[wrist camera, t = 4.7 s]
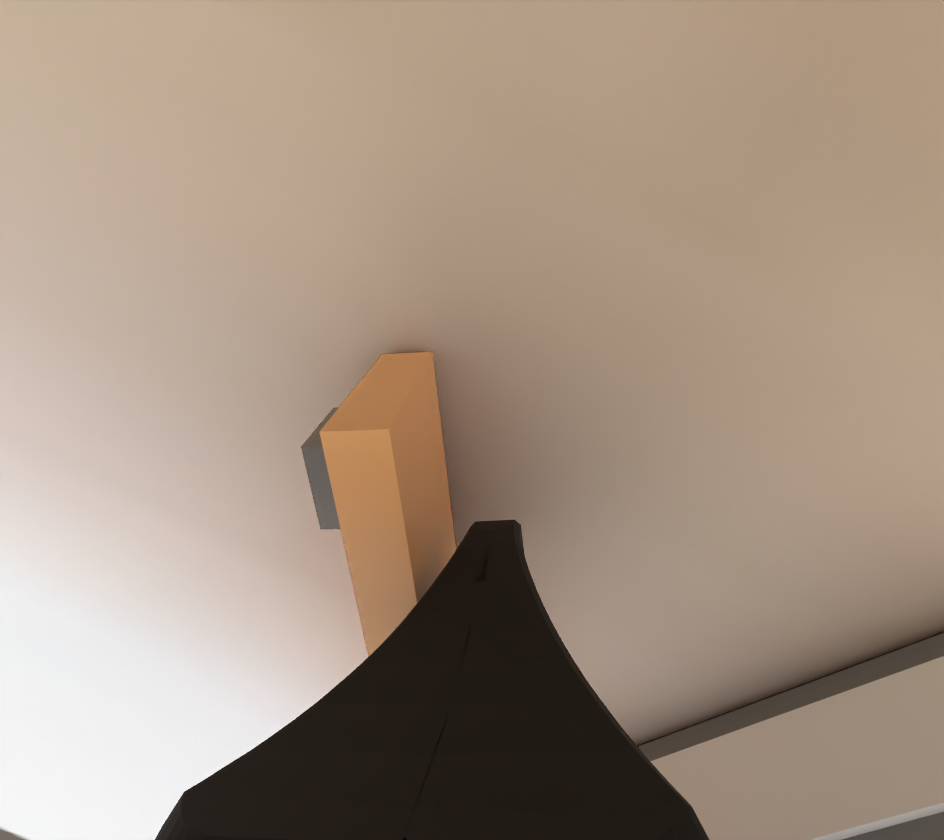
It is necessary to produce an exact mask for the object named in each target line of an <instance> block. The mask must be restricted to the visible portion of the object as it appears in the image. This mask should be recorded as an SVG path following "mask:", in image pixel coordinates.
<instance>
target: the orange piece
mask: <svg viewBox="0 0 944 840" xmlns="http://www.w3.org/2000/svg"><path fill="white" fill-rule="evenodd" d="M301 448H302V452H303V456H304V461H305V465H306V469H307V473H308V478H309V482H310V486H311V490H312V495H313V499H314V503H315V507H316V512H317V516H318V520H319V524H320V529H341V533H342V538H343V542H344V547H345V551H346V556H347V561H348V565H349V570H350V574H351V579H352V584H353V588H354V593H355V597H356V602H357V606H358V611H359V616H360V620H361V625H362V629H363V634H364V638H365V643H366V648H367V652H368V657H369V656H370V655H371V654H372V653H373V652H374V651H375V650H376V649H377V648H378V647H379V646H380V645H381V644H382V643H383V642H384V641H385V640H386V639H387V638H388V637H389V635H390V634H391V633H392V632H393V631H394V630H395V629H396V628H397V627H398V626H399V624H400V623H401V622H402V621H403V620H404V619H405V617H406V616H407V615H408V614H409V613H410V611H411V610H412V609H413V608H414V606H415V605H416V604H417V603H418V602H419V600H420V599H421V598H422V597H423V596H424V594H425V593H426V592H427V590H428V589H429V588H430V586H431V585H432V584H433V582H434V581H435V580H436V578H437V577H438V575H439V574H440V573H441V571H442V570H443V569H444V567H445V566H446V564H447V563H448V561H449V560H450V559H451V557H452V556H453V554H454V553H455V551H456V544H455V535H454V527H453V519H452V510H451V502H450V494H449V485H448V477H447V469H446V460H445V452H444V444H443V436H442V427H441V419H440V411H439V402H438V394H437V386H436V377H435V369H434V361H433V352H416V353H397V354H382V355H381V356H380V358H379V359H378V360H377V361H376V363H375V364H374V365H373V366H372V367H371V369H370V370H369V371H368V372H367V374H366V375H365V376H364V377H363V379H362V380H361V381H360V382H359V383H358V385H357V386H356V387H355V388H354V390H353V391H352V392H351V393H350V395H349V396H348V397H347V398H346V399H345V401H344V402H343V403H342V404H341V406H340V407H339V408H333V409H332V411H331V412H330V413H329V414H328V415H327V417H326V418H325V419H324V420H323V421H322V423H321V424H320V425H319V426H318V427H317V429H316V430H315V431H314V432H313V433H312V435H311V436H310V437H309V438H308V439H307V441H306V442H305V443H304V444H303V445H302V447H301Z"/></svg>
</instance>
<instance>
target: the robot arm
mask: <svg viewBox="0 0 944 840" xmlns="http://www.w3.org/2000/svg"><path fill="white" fill-rule="evenodd" d="M155 840H709V838H708V836H707V834H706V832H705V830H704V828H703V826H702V825H701V823H700V821H699V819H698V817H697V815H696V813H695V811H694V809H693V807H692V806H691V805H690V804H689V803H688V802H687V800H686V799H685V798H684V797H683V796H682V795H681V794H680V793H679V792H678V791H677V790H676V789H675V788H674V787H673V786H672V785H671V784H670V783H669V782H668V781H667V779H666V778H665V777H664V776H663V775H662V774H661V773H660V772H659V771H658V769H657V768H656V767H655V766H654V765H653V764H652V763H651V762H650V761H649V760H648V758H647V757H646V756H645V755H644V754H643V753H642V751H641V750H640V749H639V748H638V747H637V745H636V744H635V743H634V742H633V741H632V739H631V738H630V737H629V736H628V735H627V733H626V732H625V731H624V730H623V729H622V728H621V726H620V725H619V724H618V722H617V721H616V720H615V718H614V717H613V716H612V714H611V713H610V712H609V710H608V709H607V707H606V706H605V705H604V703H603V702H602V701H601V699H600V698H599V697H598V695H597V694H596V693H595V691H594V690H593V689H592V687H591V686H590V685H589V683H588V682H587V680H586V679H585V677H584V676H583V674H582V673H581V671H580V670H579V668H578V666H577V665H576V663H575V662H574V660H573V659H572V657H571V655H570V654H569V652H568V650H567V649H566V647H565V645H564V644H563V642H562V640H561V638H560V637H559V635H558V633H557V631H556V629H555V627H554V626H553V624H552V622H551V620H550V618H549V616H548V614H547V612H546V610H545V608H544V606H543V603H542V601H541V599H540V597H539V594H538V592H537V590H536V587H535V585H534V582H533V579H532V577H531V574H530V572H529V569H528V566H527V563H526V560H525V556H524V548H523V540H522V531H521V525H520V524H519V523H518V522H517V521H515V520H500V521H480V522H475V523H474V524H473V525H472V526H471V527H470V529H469V531H468V532H467V534H466V535H465V537H464V539H463V540H462V542H461V543H460V545H459V547H458V548H457V550H456V551H455V553H454V554H453V556H452V557H451V559H450V560H449V561H448V563H447V564H446V566H445V567H444V569H443V570H442V571H441V573H440V574H439V575H438V577H437V578H436V580H435V581H434V582H433V584H432V585H431V586H430V588H429V589H428V590H427V592H426V593H425V594H424V596H423V597H422V598H421V599H420V600H419V602H418V603H417V604H416V605H415V606H414V608H413V609H412V610H411V611H410V613H409V614H408V615H407V616H406V617H405V619H404V620H403V621H402V622H401V623H400V624H399V626H398V627H397V628H396V629H395V630H394V631H393V632H392V633H391V634H390V635H389V637H388V638H387V639H386V640H385V641H384V642H383V643H382V644H381V645H380V646H379V647H378V648H377V649H376V650H375V651H374V652H373V653H372V654H371V655H370V656H369V657H368V658H367V659H366V660H365V661H364V662H363V663H362V664H361V665H360V666H358V667H357V668H356V669H355V670H354V671H353V672H352V673H351V674H350V675H348V676H347V677H346V678H345V679H344V680H343V681H341V682H340V683H339V684H338V685H337V686H336V687H334V688H333V689H332V690H331V691H330V692H329V693H328V694H326V695H325V696H324V697H323V698H322V699H320V700H319V701H318V702H317V703H315V704H314V705H313V706H312V707H310V708H309V709H308V710H306V711H305V712H304V713H302V714H301V715H300V716H299V717H297V718H296V719H295V720H293V721H292V722H291V723H289V724H288V725H286V726H285V727H284V728H282V729H281V730H279V731H278V732H277V733H275V734H274V735H272V736H271V737H270V738H268V739H267V740H265V741H264V742H262V743H261V744H259V745H258V746H257V747H255V748H254V749H252V750H251V751H249V752H247V753H246V754H244V755H243V756H241V757H240V758H238V759H236V760H235V761H233V762H232V763H230V764H229V765H227V766H225V767H224V768H222V769H221V770H219V771H217V772H216V773H214V774H213V775H211V776H210V777H208V778H206V779H205V780H203V781H202V782H200V783H198V784H197V785H195V786H193V787H192V788H190V789H188V790H187V791H185V792H184V793H183V795H182V796H181V798H180V799H179V801H178V803H177V804H176V806H175V807H174V809H173V810H172V812H171V813H170V815H169V817H168V818H167V820H166V821H165V823H164V824H163V826H162V828H161V830H160V831H159V833H158V835H157V837H156V839H155Z"/></svg>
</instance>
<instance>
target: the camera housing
mask: <svg viewBox="0 0 944 840" xmlns="http://www.w3.org/2000/svg"><path fill="white" fill-rule="evenodd" d="M638 748H639V749H640V750H641V751H642V753H643V754H644V755H645V756H646V757H647V758H648V760H649V761H650V762H651V763H652V764H653V765H654V766H655V767H656V768H657V769H658V771H659V772H660V773H661V774H662V775H663V776H664V777H665V778H666V779H667V781H668V782H669V783H670V784H671V785H672V786H673V787H674V788H675V789H676V790H677V791H678V792H679V793H680V794H681V795H682V796H683V797H684V798H685V799H686V800H687V802H688V803H689V804H690V805H691V806H692V807H693V809H694V811H695V813H696V815H697V817H698V819H699V821H700V823H701V825H702V826H703V828H704V830H705V832H706V834H707V836H708V838H709V840H944V633H942V634H939V635H936V636H934V637H931V638H928V639H926V640H923V641H920V642H917V643H915V644H912V645H909V646H907V647H904V648H901V649H899V650H896V651H893V652H891V653H888V654H885V655H883V656H880V657H877V658H874V659H872V660H869V661H866V662H864V663H861V664H858V665H856V666H853V667H850V668H848V669H845V670H842V671H839V672H837V673H834V674H831V675H829V676H826V677H823V678H821V679H818V680H815V681H813V682H810V683H807V684H805V685H802V686H799V687H796V688H794V689H791V690H788V691H786V692H783V693H780V694H778V695H775V696H772V697H770V698H767V699H764V700H761V701H759V702H756V703H753V704H751V705H748V706H745V707H743V708H740V709H737V710H735V711H732V712H729V713H727V714H724V715H721V716H718V717H716V718H713V719H710V720H708V721H705V722H702V723H700V724H697V725H694V726H692V727H689V728H686V729H684V730H681V731H678V732H675V733H673V734H670V735H667V736H665V737H662V738H659V739H657V740H654V741H651V742H649V743H646V744H643V745H640V746H638Z"/></svg>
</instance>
